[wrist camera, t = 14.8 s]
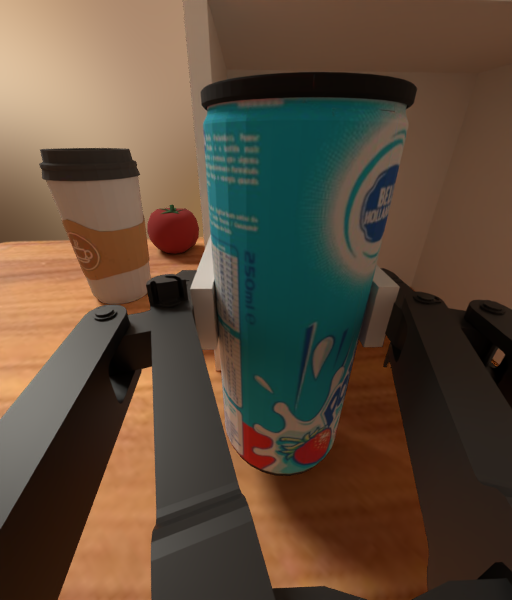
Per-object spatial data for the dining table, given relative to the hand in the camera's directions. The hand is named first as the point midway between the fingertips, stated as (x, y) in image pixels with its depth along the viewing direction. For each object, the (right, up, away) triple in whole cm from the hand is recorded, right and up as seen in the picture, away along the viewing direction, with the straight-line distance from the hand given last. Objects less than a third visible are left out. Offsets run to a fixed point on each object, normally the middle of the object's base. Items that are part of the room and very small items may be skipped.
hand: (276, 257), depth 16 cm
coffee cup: (-17, -2, +17) cm, 24 cm away
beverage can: (0, -10, 0) cm, 10 cm away
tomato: (-15, +6, +30) cm, 34 cm away
